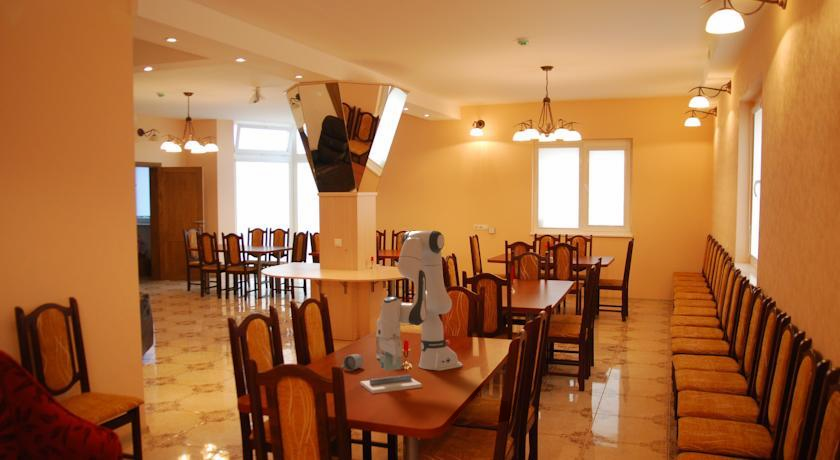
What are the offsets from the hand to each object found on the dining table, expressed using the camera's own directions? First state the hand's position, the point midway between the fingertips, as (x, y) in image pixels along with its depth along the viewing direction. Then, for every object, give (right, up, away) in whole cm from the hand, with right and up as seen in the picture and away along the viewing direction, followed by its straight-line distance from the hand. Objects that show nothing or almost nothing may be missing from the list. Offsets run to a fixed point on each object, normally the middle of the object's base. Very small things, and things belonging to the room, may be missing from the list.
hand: (390, 362), depth 314 cm
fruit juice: (-5, -9, +55) cm, 56 cm away
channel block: (0, -3, 0) cm, 3 cm away
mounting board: (0, -11, +1) cm, 11 cm away
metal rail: (0, -9, 0) cm, 9 cm away
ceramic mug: (-21, -10, +32) cm, 40 cm away
